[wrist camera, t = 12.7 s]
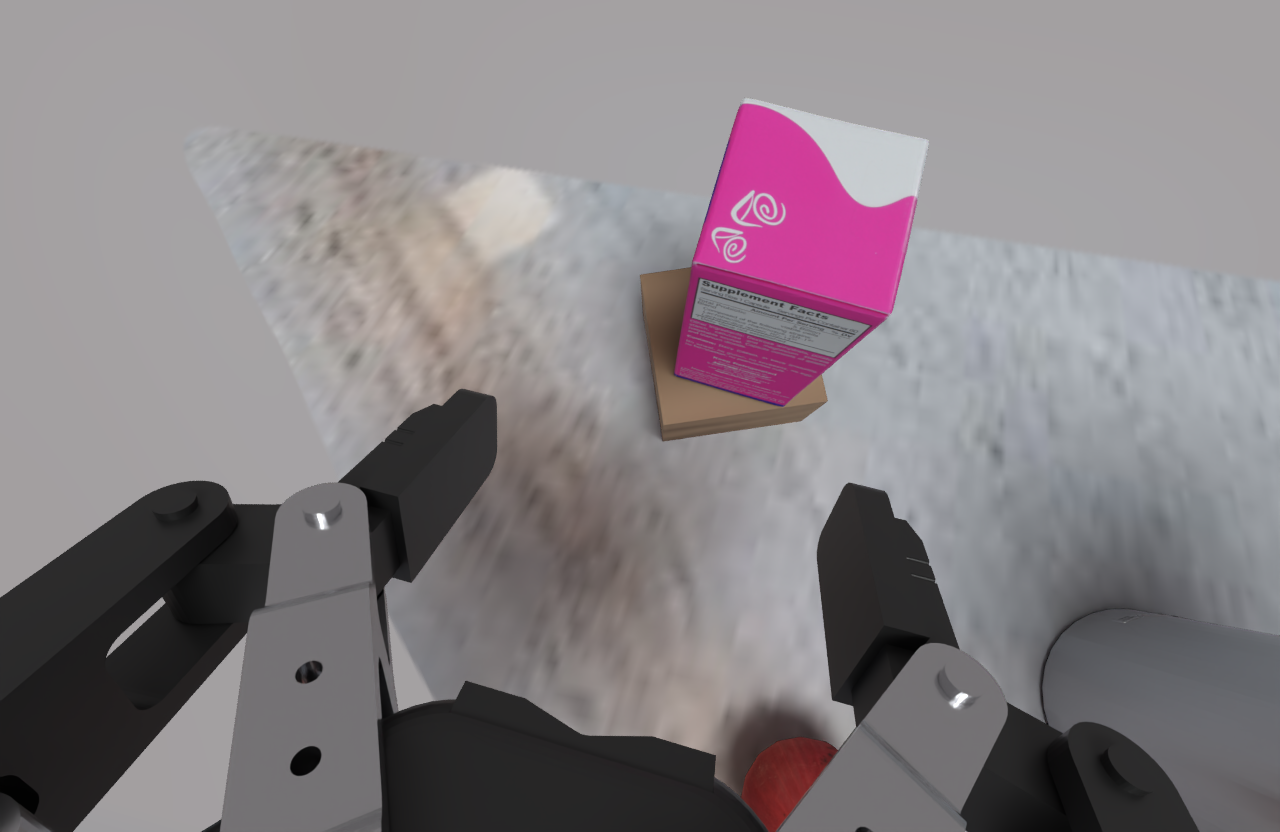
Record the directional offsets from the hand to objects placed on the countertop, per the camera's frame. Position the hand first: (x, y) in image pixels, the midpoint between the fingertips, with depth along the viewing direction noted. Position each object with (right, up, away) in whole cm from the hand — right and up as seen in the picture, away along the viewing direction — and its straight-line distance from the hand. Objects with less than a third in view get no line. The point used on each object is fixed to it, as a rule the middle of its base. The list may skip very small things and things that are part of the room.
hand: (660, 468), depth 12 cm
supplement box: (+5, +5, +14) cm, 15 cm away
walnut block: (+4, +4, +19) cm, 20 cm away
